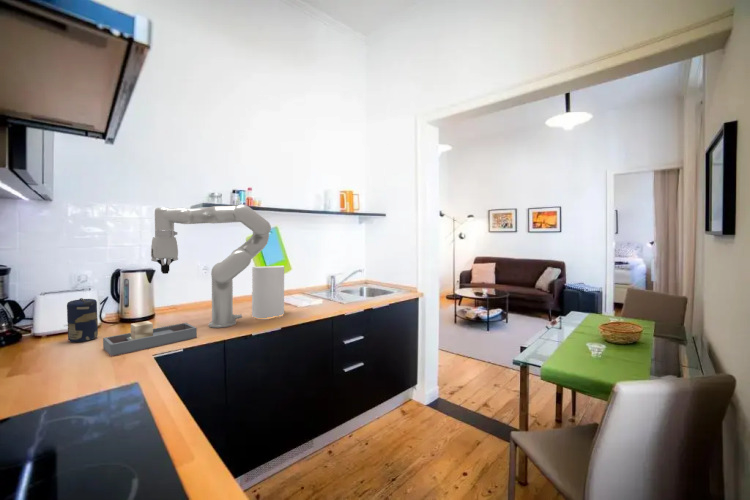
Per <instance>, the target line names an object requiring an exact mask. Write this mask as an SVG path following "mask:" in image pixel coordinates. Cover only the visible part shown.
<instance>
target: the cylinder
mask: <svg viewBox="0 0 750 500" xmlns="http://www.w3.org/2000/svg"><path fill="white" fill-rule="evenodd" d="M251 268H252V269H251V270H252V272H251V273H252V278H251V279H252V282H251V283H252V285H251V286H252V287H251V288H252V291H251V317H252V316H253V317H256V318H267V317H273V316H279V315H282V314H284V315H285V265H271V266H269V265H268V266H266V265H265V266H252V267H251ZM253 317H252V318H253Z"/></svg>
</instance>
